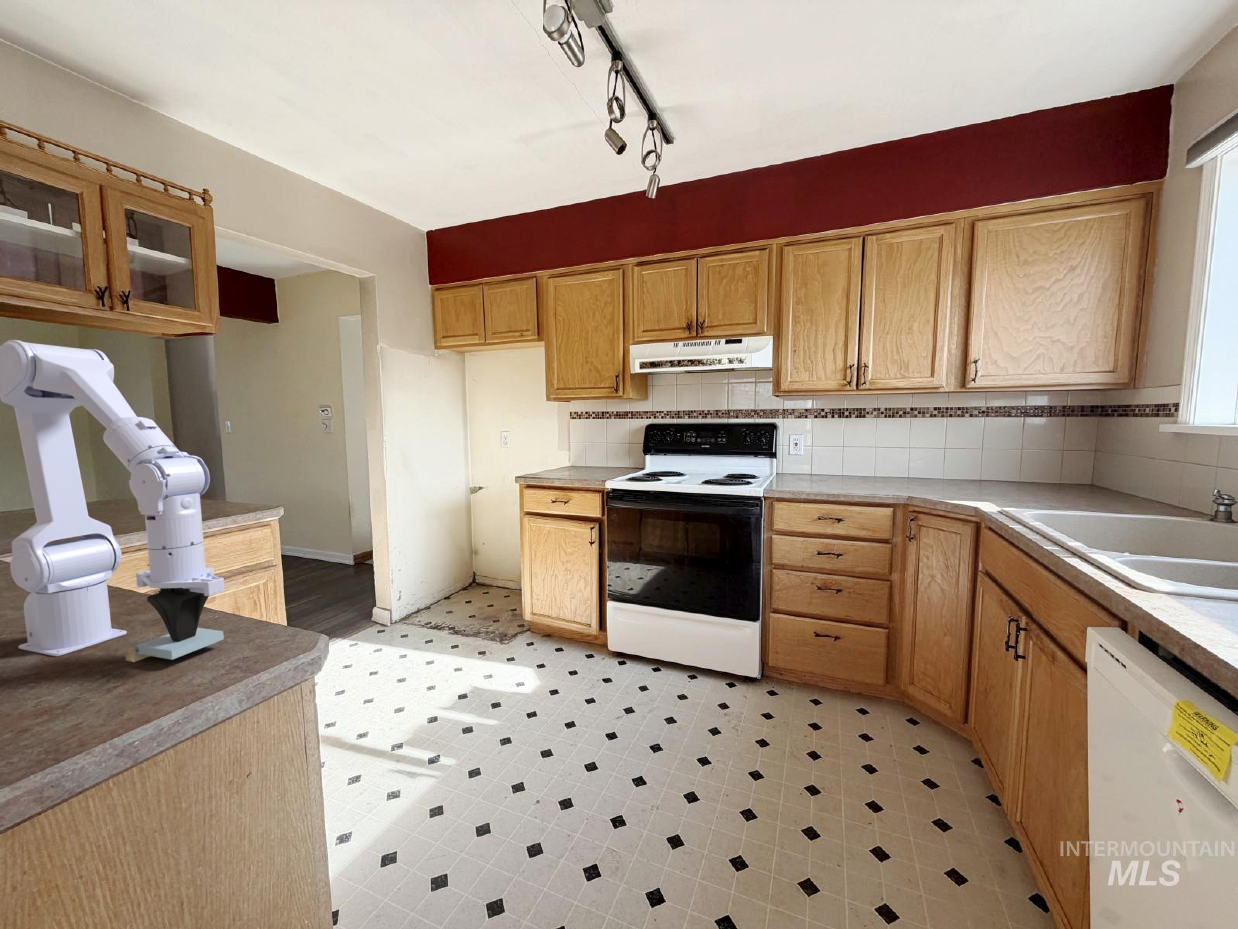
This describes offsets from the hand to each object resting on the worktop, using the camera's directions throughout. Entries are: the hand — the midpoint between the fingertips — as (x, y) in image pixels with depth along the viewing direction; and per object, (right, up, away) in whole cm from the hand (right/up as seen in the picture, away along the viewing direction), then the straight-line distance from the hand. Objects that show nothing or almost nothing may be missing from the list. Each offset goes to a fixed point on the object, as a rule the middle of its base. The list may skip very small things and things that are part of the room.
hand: (184, 639), depth 68 cm
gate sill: (-5, -2, +2) cm, 6 cm away
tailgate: (-4, 0, +1) cm, 4 cm away
